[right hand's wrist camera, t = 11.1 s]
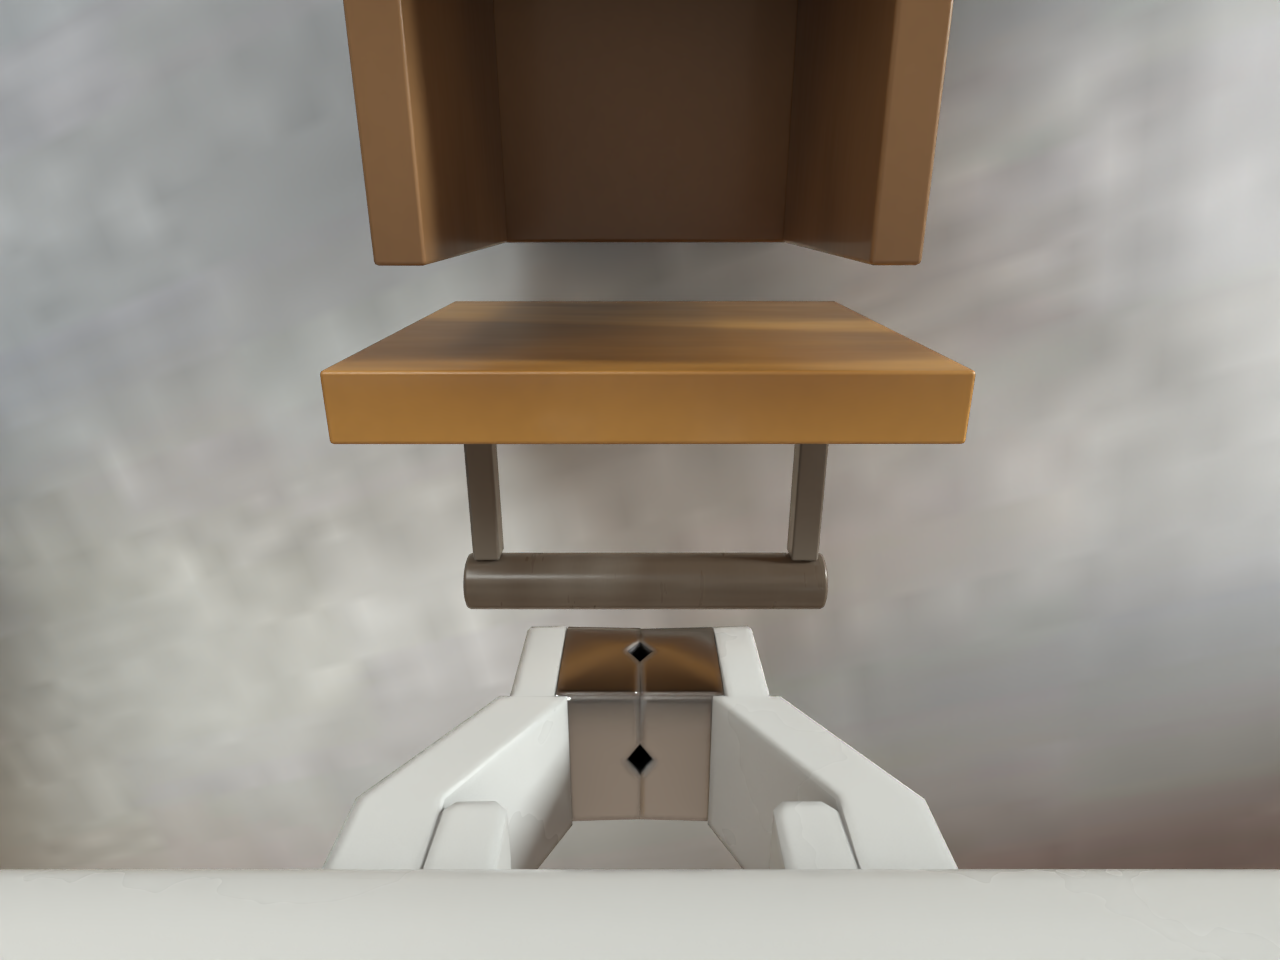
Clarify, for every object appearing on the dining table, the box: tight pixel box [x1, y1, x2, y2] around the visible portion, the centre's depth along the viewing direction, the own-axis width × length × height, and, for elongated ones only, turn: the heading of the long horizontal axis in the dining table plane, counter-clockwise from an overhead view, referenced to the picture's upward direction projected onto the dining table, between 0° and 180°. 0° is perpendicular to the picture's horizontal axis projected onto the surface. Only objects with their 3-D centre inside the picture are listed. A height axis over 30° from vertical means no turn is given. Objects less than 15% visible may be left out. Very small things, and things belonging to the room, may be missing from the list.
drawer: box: [320, 0, 975, 609], centre depth 14 cm, size 22×10×9 cm, turn 0°
